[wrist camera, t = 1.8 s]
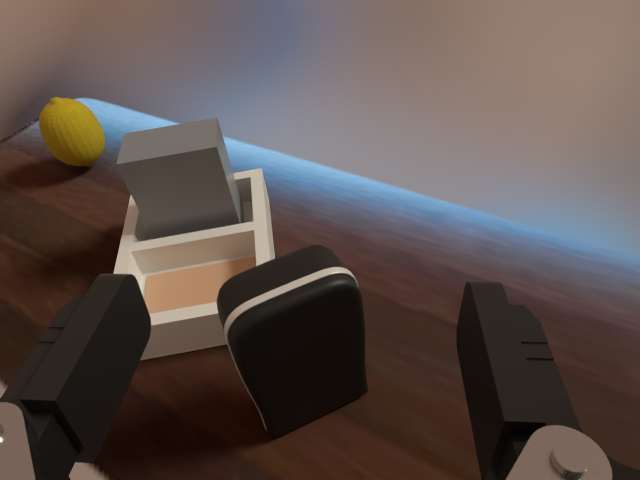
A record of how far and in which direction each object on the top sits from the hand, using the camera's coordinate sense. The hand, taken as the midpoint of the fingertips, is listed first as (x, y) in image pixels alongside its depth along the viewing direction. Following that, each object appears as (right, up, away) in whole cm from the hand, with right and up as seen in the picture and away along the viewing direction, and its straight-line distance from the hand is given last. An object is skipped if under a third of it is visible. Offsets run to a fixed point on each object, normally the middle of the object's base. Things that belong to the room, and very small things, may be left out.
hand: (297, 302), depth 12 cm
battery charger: (0, -8, +19) cm, 21 cm away
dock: (-9, -1, +28) cm, 29 cm away
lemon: (-24, +9, +41) cm, 48 cm away
